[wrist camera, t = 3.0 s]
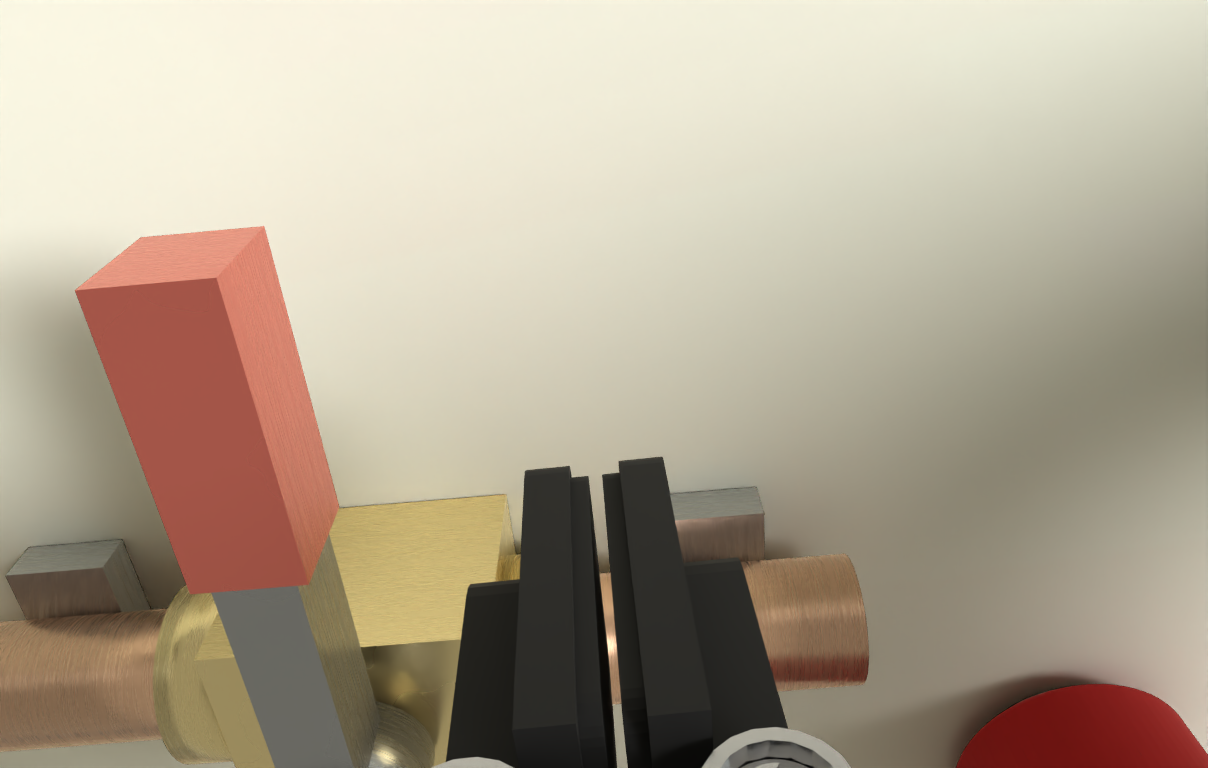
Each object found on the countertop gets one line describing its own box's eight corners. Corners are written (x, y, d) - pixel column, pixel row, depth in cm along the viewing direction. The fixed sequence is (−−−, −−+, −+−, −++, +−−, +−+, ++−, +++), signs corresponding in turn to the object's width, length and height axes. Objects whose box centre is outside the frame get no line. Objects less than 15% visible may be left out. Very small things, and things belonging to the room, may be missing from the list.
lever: (445, 792, 21) (428, 907, 18) (310, 803, 21) (276, 917, 18) (304, 218, 14) (251, 281, 12) (112, 234, 15) (24, 300, 12)
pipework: (830, 467, 23) (887, 605, 19) (825, 627, 26) (875, 783, 21) (-48, 540, 24) (-192, 690, 19) (29, 690, 26) (-83, 854, 22)
